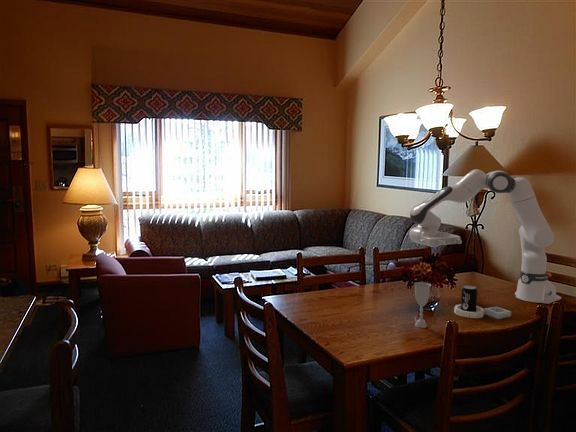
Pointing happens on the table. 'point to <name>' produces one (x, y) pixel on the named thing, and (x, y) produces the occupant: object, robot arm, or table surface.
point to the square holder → (497, 312)
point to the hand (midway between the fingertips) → (453, 242)
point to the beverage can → (469, 298)
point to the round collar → (477, 314)
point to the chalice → (422, 300)
